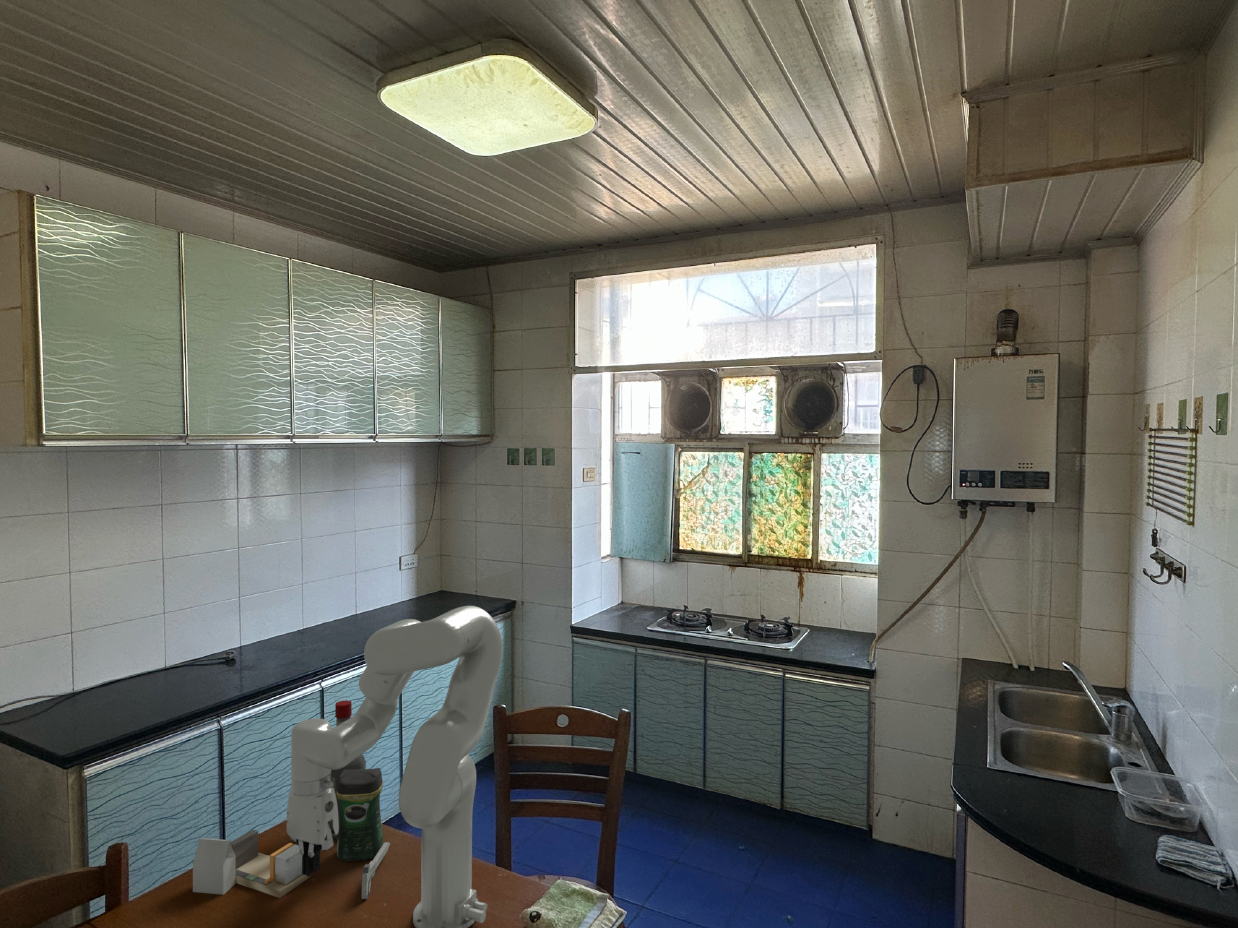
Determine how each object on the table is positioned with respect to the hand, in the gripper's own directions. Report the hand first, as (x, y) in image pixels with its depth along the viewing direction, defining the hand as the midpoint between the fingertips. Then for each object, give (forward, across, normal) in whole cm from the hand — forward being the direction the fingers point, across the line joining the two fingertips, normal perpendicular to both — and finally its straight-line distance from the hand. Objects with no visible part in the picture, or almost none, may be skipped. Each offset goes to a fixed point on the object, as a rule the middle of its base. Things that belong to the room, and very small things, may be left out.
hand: (311, 871), depth 144 cm
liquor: (+4, +12, -22) cm, 25 cm away
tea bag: (+4, +19, +7) cm, 21 cm away
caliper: (+5, -7, -11) cm, 14 cm away
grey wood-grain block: (+2, +6, 0) cm, 6 cm away
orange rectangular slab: (+2, +8, +1) cm, 9 cm away
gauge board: (+4, +12, 0) cm, 13 cm away
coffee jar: (+4, +1, -15) cm, 16 cm away
